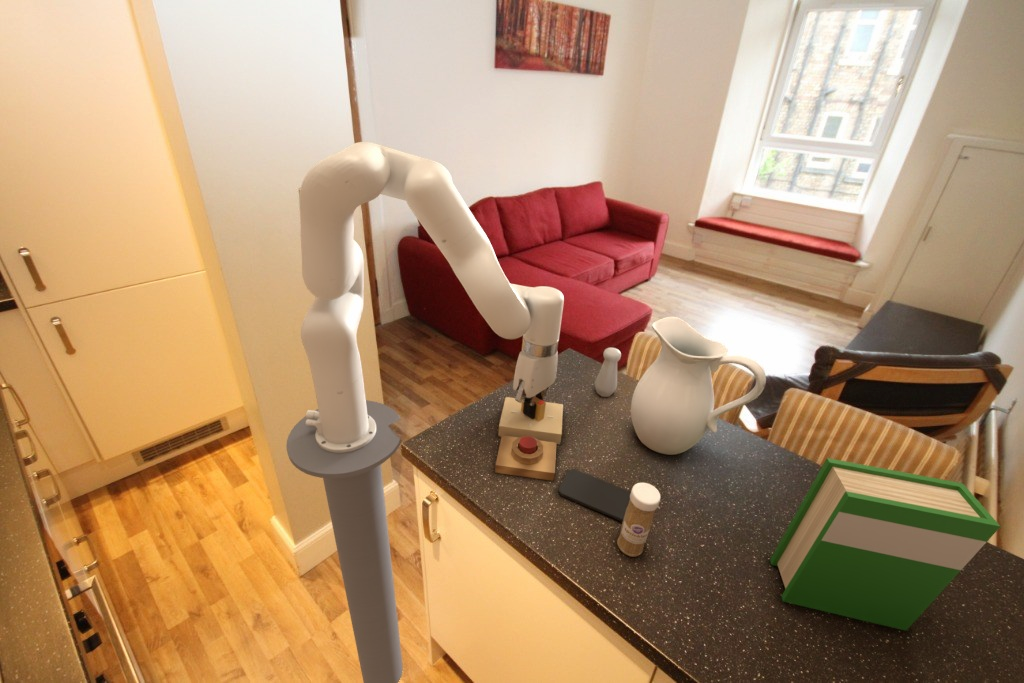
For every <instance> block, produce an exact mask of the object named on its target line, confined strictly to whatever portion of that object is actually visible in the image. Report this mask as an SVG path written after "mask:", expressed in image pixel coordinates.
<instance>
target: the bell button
mask: <svg viewBox="0 0 1024 683" xmlns="http://www.w3.org/2000/svg"><path fill="white" fill-rule="evenodd" d="M536 447H537V441H536V439H535V438H533V437H530V436H525V437H522V438H521V439H520V442H519V450H520V451H521V452H522V453H524V454H533V453H534V452H535V451H536Z"/></svg>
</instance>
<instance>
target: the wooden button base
mask: <svg viewBox="0 0 1024 683" xmlns="http://www.w3.org/2000/svg"><path fill="white" fill-rule="evenodd" d="M523 437H525V436H523ZM521 438H522V437H519V438H518V437H511V436H503V435H502V437H501V436H500V442H499V446H498V451H497V457H496V460H495V464H494V465H495V467H494V473H496V474H503V475H510V476H517V477H523V478H529V479H530V478H531V479H537V480H545V481H552V482H554V480H555V474H556V458H557V444H556V443H555V442H547V441H540V440H538V439H536V438H535V439H536V441H537V447H536V451H535V452H534V453H533V454H524V453H522V452H521V451H520V450H519V442H520V439H521ZM533 438H534V437H533Z"/></svg>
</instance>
